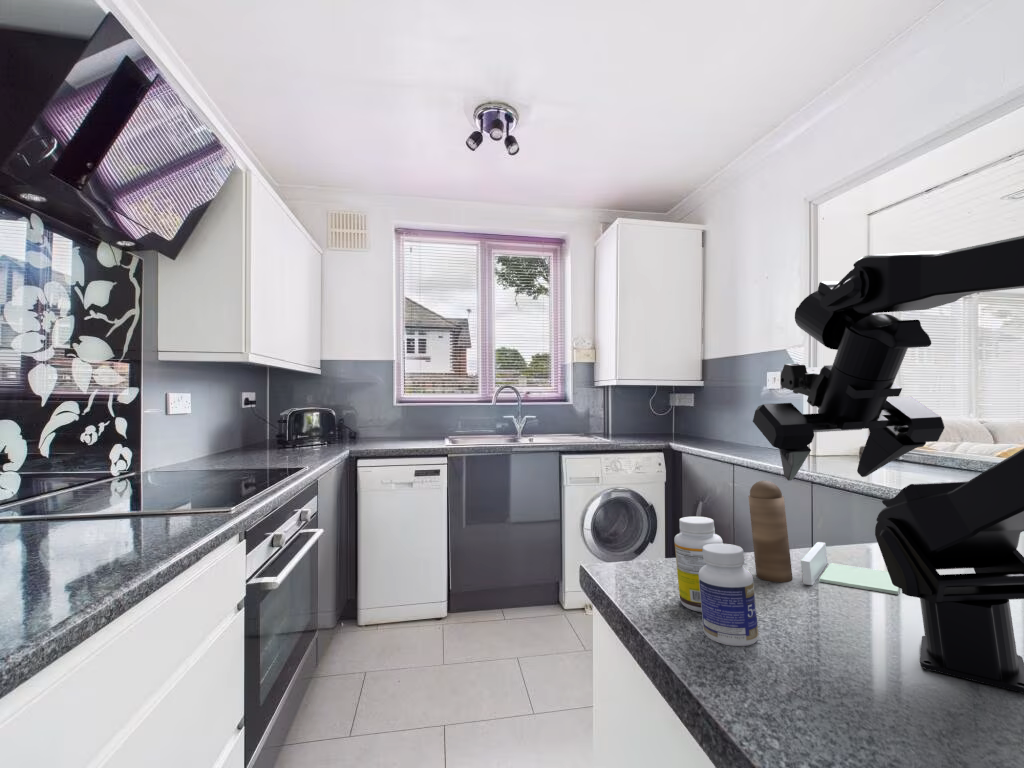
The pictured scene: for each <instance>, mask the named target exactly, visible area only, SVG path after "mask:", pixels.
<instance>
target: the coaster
mask: <svg viewBox="0 0 1024 768" xmlns="http://www.w3.org/2000/svg"><path fill="white" fill-rule="evenodd" d="M823 571H824V572H823V573H821V576H819V582H820V583H825V584H831V585H836V586H837V585H838V586H844V587H850V588H855V589H861V590H867V591H872V592H873V591H874V592H880V593H885V594H886V593H887V594H890V595H899V593H900V589H901V588H898V587H896V586H894V585H893V584H892V581H891V578H890V576H889V573H888V570H882V569H875V568H874V569H873V568H869V567H862V566H854V565H847V564H840V563H832V562H829V563H828V565H827V566H826V568H825V570H823Z"/></svg>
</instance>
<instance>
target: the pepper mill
mask: <svg viewBox="0 0 1024 768" xmlns="http://www.w3.org/2000/svg"><path fill="white" fill-rule="evenodd" d="M782 493H783V492H782V490H781V489H780V487H779V486H778V485H777V484H776V483H774V482H772V481H769V480H760V481H756V482H755V483H754V484H753V485H752V486H751V487H750V490H749V495H748V506H749V514H750V526H751V536H752V543H753V544H752V545H753V554H754V565H755V574H756V575H755V576H756V577H757V578H759V579H760V580H763V581H766V582H772V583H788V582H791V581H792V580H794V579H793V577H794V576H793V570H792V560H791V551H790V542H789V533H788V532H789V531H788V524H787V523H788V522H787V513H786V504H785V502H786V501H785V498H784V497H785V496H784V495H783V494H782Z"/></svg>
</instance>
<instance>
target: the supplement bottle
mask: <svg viewBox="0 0 1024 768" xmlns="http://www.w3.org/2000/svg"><path fill="white" fill-rule="evenodd" d="M678 523H679V533H677V534H676V535H675V536H674V539H673V540H674V550H675V551H674V552H675V561H676V571H677V581H678V582H677V583H678V584H677V585H678V595H679V600H680V603H681V604H682V605H683V606H684V607H685V608H686V609H688V610H690V611H694V612H698V613H702V607H701V596H700V585H699V570H700V569H701V568H702V567H703V566H705V565H706V563H705V562H704V560H703V559H704V558H703V549H702V548H703V546H705V545H707V544H717V543H721V544H724V541H723V539H722V537H721V536H720V535H719V534H717V533H716V531H715V530H716V528H715V521H714V519H712V518H710V517H706V516H684V517H681V518H679V522H678Z"/></svg>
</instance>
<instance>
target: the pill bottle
mask: <svg viewBox="0 0 1024 768" xmlns="http://www.w3.org/2000/svg"><path fill="white" fill-rule="evenodd" d="M702 549H703V558H704V559H703V560H704V562H705V563H706V565H705V566H703V567H702V568H701V569H700V570H699V585H700V596H701V607H702V612H701V618H702V619H701V620H702V629H703V633H704V634H705V636H707V637H708V639H710V640H712V641H713V642H716V643H719V644H721V645H727V646H731V647H745V646H746V647H747V646H750V645H753V644H756V642H758V640H759V636H760V635H759V626H758V619H757V618H758V617H757V607H756V597H755V596H756V595H755V586H754V585H755V584H754V578H753V575H752V573H751V572H750V571H749V570H748V569H746V568H745V567H744V565H745V561H746V560H745V553H744V549H743V548H742V547H741V546H740V545H737V544H736V545H735V544H732V543H731V544H730V543H723V544H721V543H717V544H707V545H705V546H703V548H702Z"/></svg>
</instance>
